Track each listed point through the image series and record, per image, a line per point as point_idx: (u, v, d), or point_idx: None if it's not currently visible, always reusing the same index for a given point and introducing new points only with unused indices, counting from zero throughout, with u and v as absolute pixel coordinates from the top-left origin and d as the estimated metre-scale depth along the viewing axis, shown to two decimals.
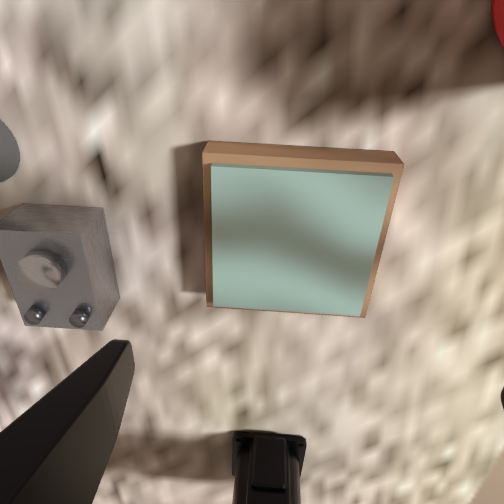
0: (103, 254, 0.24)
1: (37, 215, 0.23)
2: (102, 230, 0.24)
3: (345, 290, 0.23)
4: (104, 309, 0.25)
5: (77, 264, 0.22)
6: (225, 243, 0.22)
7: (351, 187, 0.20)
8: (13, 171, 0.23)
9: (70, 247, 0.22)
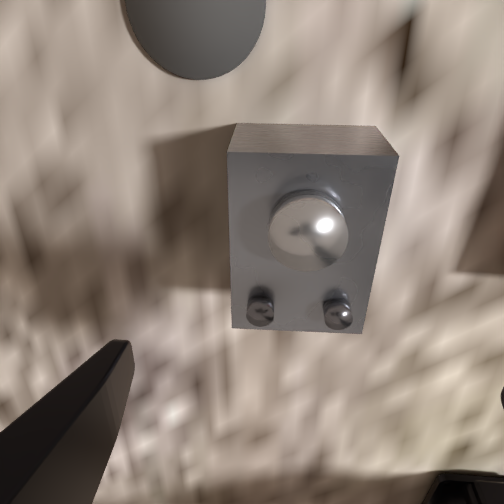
0: None
1: (284, 135, 0.13)
2: None
3: None
4: None
5: (368, 216, 0.12)
6: None
7: None
8: (246, 55, 0.13)
9: (369, 183, 0.12)
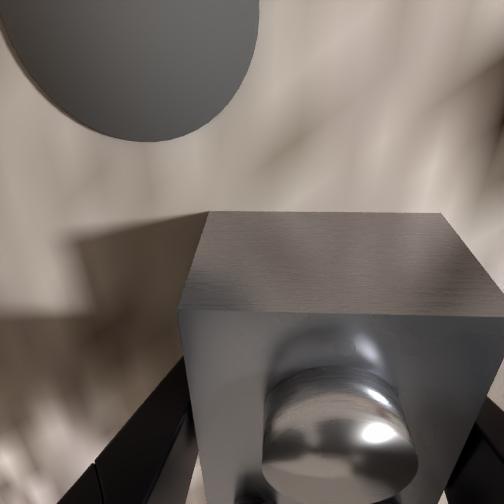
0: None
1: (287, 247, 0.07)
2: None
3: None
4: None
5: (448, 405, 0.07)
6: None
7: None
8: (225, 102, 0.07)
9: (455, 358, 0.06)
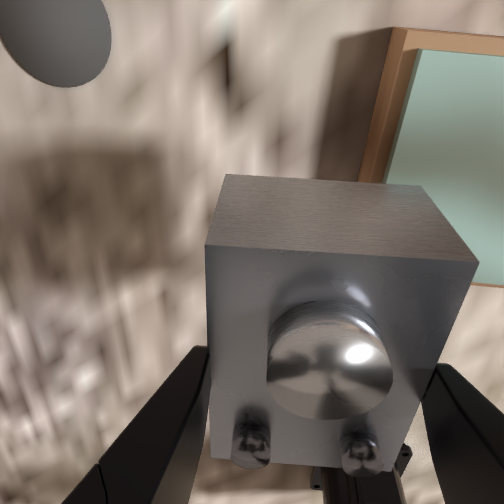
0: None
1: (293, 206, 0.09)
2: None
3: None
4: None
5: (419, 339, 0.08)
6: (406, 177, 0.15)
7: None
8: (99, 69, 0.16)
9: (427, 296, 0.08)
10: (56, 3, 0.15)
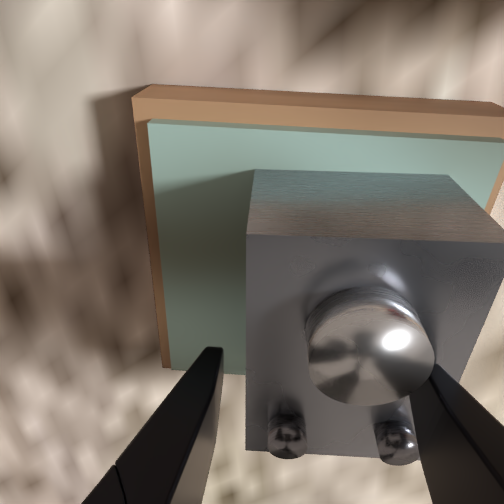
0: None
1: (326, 196, 0.09)
2: None
3: None
4: None
5: (456, 323, 0.08)
6: (184, 269, 0.12)
7: (422, 165, 0.10)
8: None
9: (465, 279, 0.08)
10: None
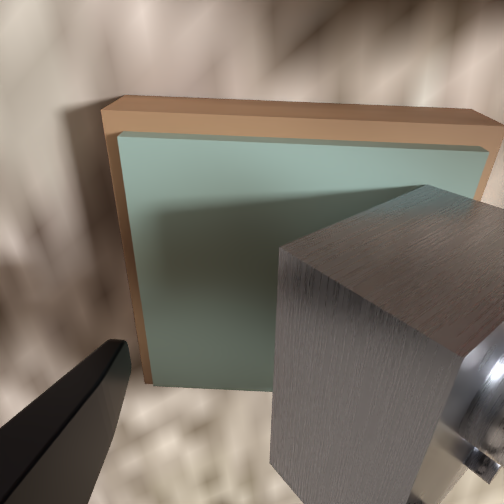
0: None
1: (410, 254, 0.07)
2: None
3: None
4: None
5: None
6: (162, 284, 0.12)
7: (401, 175, 0.10)
8: None
9: None
10: None
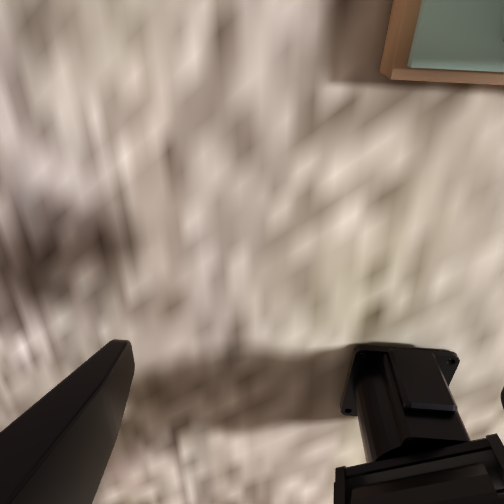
0: None
1: None
2: None
3: None
4: None
5: None
6: None
7: None
8: None
9: None
10: None
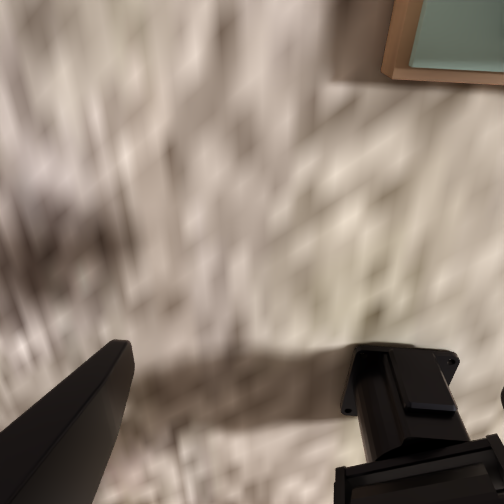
0: None
1: None
2: None
3: None
4: None
5: None
6: None
7: None
8: None
9: None
10: None
